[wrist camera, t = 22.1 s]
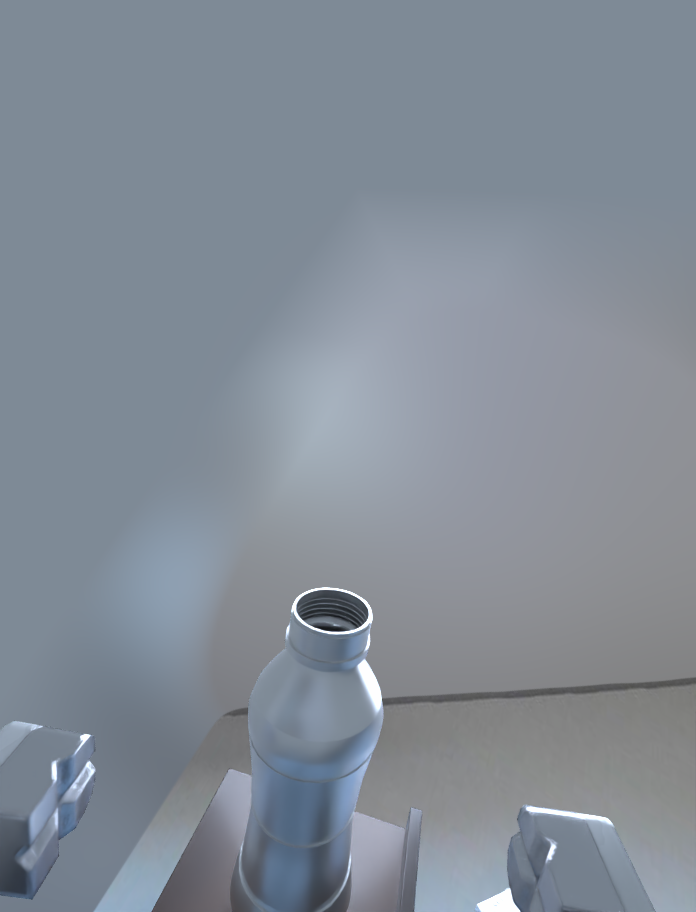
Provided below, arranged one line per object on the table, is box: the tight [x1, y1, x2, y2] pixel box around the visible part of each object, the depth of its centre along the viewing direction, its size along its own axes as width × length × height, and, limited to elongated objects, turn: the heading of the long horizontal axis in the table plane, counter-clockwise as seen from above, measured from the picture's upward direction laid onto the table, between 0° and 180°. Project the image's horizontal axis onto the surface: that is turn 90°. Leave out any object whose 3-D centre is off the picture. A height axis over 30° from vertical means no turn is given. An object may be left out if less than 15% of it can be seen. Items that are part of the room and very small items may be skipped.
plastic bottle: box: [230, 588, 384, 912], centre depth 24 cm, size 6×7×20 cm
